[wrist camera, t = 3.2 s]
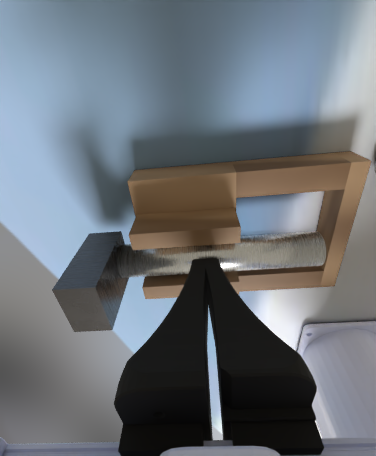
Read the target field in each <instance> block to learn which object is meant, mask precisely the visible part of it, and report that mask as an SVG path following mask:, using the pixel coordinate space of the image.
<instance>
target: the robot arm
mask: <svg viewBox="0 0 376 456" xmlns="http://www.w3.org/2000/svg"><path fill="white" fill-rule="evenodd" d="M208 305H209V311H210V317H211V322H212V328H213V334H214V340H215V347H216V357H217V369H218V381H219V393H220V405H221V418H222V430H223V440H213V439H212V422H211V406H210V389H209V372H208V355H207V332H208ZM114 405H115V408H116V411H117V412H118V414H119V416H120V418H121V420H122V422H123V428H122V434H121V439H120V442H102V443H101V442H99V443H44V444H43V443H41V444H7V442H6V441H5V440H4V439H3V438H1V437H0V456H376V321H367V322H345V323H323V324H307V325H305V326H304V327H303V331H302V335H301V339H300V343H299V348H298V352H296V351H295V350H293V349H292V348H291V347H290V346H288V345H287V344H286V343H285V342H283V341H282V340H281V339H280V338H279V337H277V336H276V335H275V334H274V333H273V332H272V331H271V330H270V329H269V328H268V327H267V326H266V325H264V324H263V323H262V322H261V321H260V320H259V319H258V318H257V317H256V315H255V314H254V313H253V312H252V311H251V310H250V309H249V308H248V306H247V305H246V304H245V303H244V302H243V300H242V299H241V298H240V296H239V295H238V294H237V292H236V291H235V289H234V288H233V286H232V285H231V283H230V282H229V280H228V278H227V277H226V275H225V273H224V271H223V269H222V267H221V265H220V262H219V259H218V258H204V259H193V260H192V263H191V267H190V271H189V274H188V276H187V279H186V281H185V284H184V286H183V288H182V290H181V292H180V294H179V296H178V298H177V300H176V302H175V303H174V305H173V307H172V308H171V310H170V312H169V313H168V315H167V316H166V318H165V319H164V320H163V322H162V323H161V325H160V326H159V327H158V328H157V330H156V331H155V332H154V333H153V334H152V336H151V337H150V338H149V339H148V340H147V342H146V343H145V344H144V345H143V346H142V347H141V348H140V349H139V350H138V351H137V352H136V353H135V354H134V355H133V356H132V357H131V358H130V359H129V360H128V361H127V363H126V366H125V368H124V370H123V373H122V375H121V378H120V381H119V384H118V388H117V393H116V397H115V401H114ZM315 420H316V422H317V425H318V428H319V431H320V433H321V436H322V439H321V437H320V434H319V431H318V429H317V426H316V423H315Z"/></svg>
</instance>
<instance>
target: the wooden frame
mask: <svg viewBox="0 0 376 456" xmlns="http://www.w3.org/2000/svg"><path fill="white" fill-rule="evenodd" d="M370 164H371V160H368V159H366V158H364V157H362V156H360V155H358V154H356V153H353V152H351V151H347V152H335V153H324V154H312V155H301V156H290V157H278V158H267V159H256V160H244V161H233V162H221V163H210V164H199V165H187V166H176V167H165V168H153V169H142V170H134V172H133V174H132V175H131V177H130V178H129V180H128V186H129V190H130V195H131V199H132V203H133V208H134V212H135V216H136V218H135V221H134V223H133V225H132V228H131V230H130V233H129V238H130V242H131V246H132V249H133V250H143V249H158V248H173V247H187V246H202V245H217V244H232V243H240V233H241V226H240V223H239V220H238V217H237V214H236V198H240V197H253V196H266V195H278V194H291V193H304V192H316V191H325V193H324V198H323V203H322V208H321V212H320V217H319V222H318V227H317V231H318V232H319V233H320V234H321V235H322V237H323V239H324V241H325V245H326V259H325V262H324V264H323V265H322V266H310V267H293V268H277V269H260V270H243V271H227V272H224V273H225V275H226V277H227V278H228V280H229V282H230V283H231V285H232V286H233V288H234V289H235V291H236V292H237V294H239V291H257V290H275V289H294V288H312V287H330V286H335V282H336V279H337V276H338V272H339V269H340V266H341V262H342V259H343V255H344V252H345V249H346V245H347V242H348V239H349V235H350V232H351V228H352V225H353V222H354V218H355V215H356V212H357V208H358V205H359V201H360V198H361V195H362V191H363V188H364V185H365V181H366V178H367V174H368V171H369V168H370ZM187 276H188V274H177V275H160V276H145V279H144V283H143V287H142V288H143V291H144V295H145V299H156V298H174V297H178V296H179V294H180V292H181V290H182V288H183V286H184V284H185V281H186V279H187Z"/></svg>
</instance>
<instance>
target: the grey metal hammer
mask: <svg viewBox="0 0 376 456" xmlns="http://www.w3.org/2000/svg"><path fill="white" fill-rule="evenodd" d="M204 258H218V259H219V262H220V265H221V267H222V269H223V271H224V272H227V271H243V270H260V269H277V268H293V267H310V266H322V265H323V264H324V262H325V259H326V245H325V241H324V239H323V237H322V235H321V234H320V233H319V232H318V231H312V232H297V233H283V234H268V235H254V236H240V243H232V244H217V245H202V246H187V247H173V248H158V249H143V250H133V249H132V246H131V244H125V243H124V240H123V236H122V233H121V231H120V232H106V233H92V234H89V235H88V237H87V238H86V240H85V241H84V243H83V244H82V246H81V247H80V249H79V250H78V252H77V253H76V255H75V256H74V258H73V259H72V261H71V262H70V264H69V265H68V267H67V268H66V270H65V271H64V273H63V274H62V276H61V277H60V279H59V280H58V282H57V283H56V285H55V286H54V288H53V289H52V291H53V293H54V294H55V296H56V298H57V300H58V302H59V304H60V306H61V308H62V309H63V311H64V313H65V315H66V317H67V319H68V321H69V323H70V325H71V327H72V328H73V330H74V332H81V331H101V330H112V329H113V326H114V323H115V319H116V316H117V313H118V310H119V307H120V304H121V301H122V298H123V294H124V291H125V288H126V285H127V282H128V279H129V277H144V276H160V275H177V274H189V271H190V267H191V263H192V260H193V259H204Z"/></svg>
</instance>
